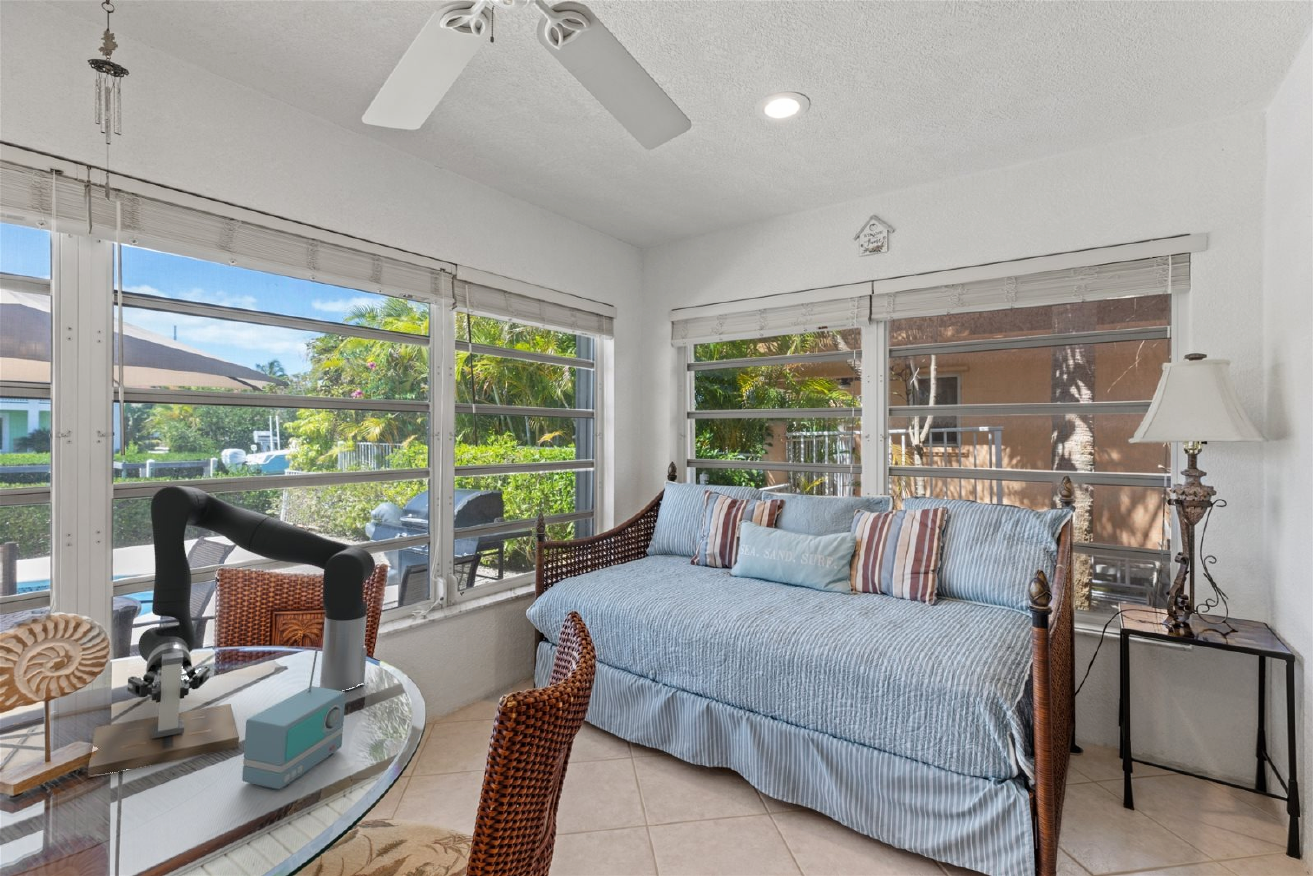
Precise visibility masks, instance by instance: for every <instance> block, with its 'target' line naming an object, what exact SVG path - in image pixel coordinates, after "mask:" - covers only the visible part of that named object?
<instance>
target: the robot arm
mask: <svg viewBox="0 0 1313 876" xmlns="http://www.w3.org/2000/svg"><path fill="white" fill-rule="evenodd" d="M150 517H151V525H152V534H153V535H152V537H153V548H154V551H153V552H154V565H155V566H154V568H155V569H154V571H155V572H154V584H153V596H152V605H151V606H152V607H151V610H152V614H153V615H154V616H158V617H159V616H160V617H167V618H173V619H175V620H177V622H178V624H177V625H176V624H175V625H166V626H165V625H164V626H155V627H151V628H148V629H146V630H145V631H143V633H142V634H141V635H140V638H139V640H138V652H139V654H140V656H141V658H142V659H143V661H145V662H146V668H145V674H144V675H143V677H141V676H140V677H137V676H129V677H128V678H127V692H129V693H131V694H133V695H135V696H137V697H138V698H146V697H148V695H150V696H151V698H150V699H151V701H152V702H154V701H155V703H160V702H161V674H162V654H169V653H177V652H183V663H182V673H181V686H180V699H185V697H186V696H188V695H189V692H190V689H191V690H198V689H200V687H202V685H204V684H205V683H206V682H207V681H208V680H209V679H210V669H211V666H208V665H205V666H203V667H201V668H199V669H196V667H193V665H192V658H191V654H190V653H191V652H192V651H193V650H194V648H195V647H196V643H197V636H196V635H197V634H196V630H195V627H194V624H193V620H192V616H191V615H192V614H191V597H192V596H191V595H192V572H191V567H190V564H189V560H188V557H187V553H186V547H185V534H186V528H187V526H192V527H197V528H200V529H204V530H208V531H211V532H214V533H216V534H219V535H222V536H223V537H225V538H226V539H228V540H229V541H230V542H232V543H233V544H234V545H236V546H238V547H239V548H241V549H243V550H244V551H247V552H250V553H252V554H253V555H254V554H255V555H257V556H261V557H262V558H266V559H269V560H273V561H278V562H285V563H291V564H292V563H294V564H302V565H309V566H314V567H316V568H319V569H322V570H323V578H322V579H323V580H322V605H323V608H324V625H323V626H324V627H323V638H322V639H323V640H322V653H321V665H320V679H319V687H320V688H326V689H332V690H337V691H342V690H346V689H349V688H352V687H356V686H357V685H358V684H361V683H364V684H365V679H366V677H365V676H366V667H367V666H366V665H367V652H368V647H367V646H366V645H365V642H366V630H367V629H366V628H367V627H366V626H367V617H368V615H367V614H368V603H367V601H365V600H364V597H363V596H364V583H365V581H368V579H369V578H370V577H371V576H372V575H373V574H374V572H375V569H376V562H375V559H374V557H373V555H372V554H371V553H370V552H369V551H367V550H366V549H364V548H362V547H360V546H359V547H358V546H355V545H351V544H347V543H344V542H343V543H342V542H339V541H335V540H331V539H327V538H325V537H323V536H320V535H317V534H315V533H314V532H310V531H308V530H306V529H303V528H301V527H298V526H296V525H293V524H290V523H289V522H286V521H284V520H281V519H278V518H275V517H272V516H270V515H267V514H264V513H260V512H257V511H254V510H250V509H246V508H243V507H240V506H239V507H238V506H235V505H233V504H230V503H228V502H227V501H223V500H222V499H220V498H218V497H215V496H214V495H212V494H209V493H207V492H206V491H204V490H202V489H199V488H197V487H192V486H184V485H168V486H165V487H163V488H161V489H159V490H158V491H157V492H156V493H154V495H153V497H152V500H151V502H150Z"/></svg>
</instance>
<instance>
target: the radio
mask: <svg viewBox="0 0 1313 876" xmlns="http://www.w3.org/2000/svg"><path fill="white" fill-rule="evenodd" d="M318 651H319V649H318V648H317V649H315V650H314V657H313V664H312V669H311V675H310V680H309V687H307V688H305V689H303V690H301V691H299V692H297V693H295V694H293V695H292V696H289V697H288V698H285V699H283V700H282V701H279V702H277V703H276V704H274V705H272V706H270V707H268V708H266V709H264V710H263V711H260V712H257V714H255V715H253V716H250V717H249V718H247V719H246V721H245V735H244V748H243V761H242V762H243V765H242V777H241V779H242V780H241V781H242V782H244V783H248V784H254V785H257V786H258V785H259V786H263V787H266V788H271V789H276V790H281V789H284V788H286V787H288V786H289V784H290V783H292V782H293V781H294V780H296V779H297V778H299V777H300V776H302V775H303V774H305V773H306V772H307V771H309V770H310V769H312V768H314V766H316V765H318V764H319V763H321V762H322V761H324V760H325V759H326V758H328V757H332V755H334V753H335V752H336V751H338V750H340V749H341V748H342V746H343V732H344V721H345V707H346V691H344V692H343V691H337V690H332V689H326V688H320V686H314V685H313V679H314V676H315V675H314V674H315V668H316V662H317V657H318Z"/></svg>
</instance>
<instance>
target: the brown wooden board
mask: <svg viewBox="0 0 1313 876" xmlns="http://www.w3.org/2000/svg"><path fill="white" fill-rule="evenodd" d="M158 718H159V715H158V716H154V717H147V718H141V719H136V720H130V721H123V722H118V723H112V724H106V725H100V726H95V727H94V728H95V729H94V733H93V737H92V738H93V739H92V745H91V747H92V746H94V747H97V748H98V749H99V750H98V751H99V752H98V753H97V754H96V755H95V756H93V757H91V758H90V757H89V761H88V767H87V768H88V769H87V777H88V776H89V775H94V774H105V773H110V772H111V773H112V772H113V774H115V773H114V772H118V771H121V770H126V769H132V770H136V768H137V769H141V768H140V767H142V768H145V766H146V767H150V765H151V766H155V765H161V764H165V763H168V762H175V761H179V760H182V759H183V760H184V759H188V758H193V757H197V756H202V755H208V754H213V753H217V752H222V751H225V750H226V751H227V750H230V749H236V748H239V744H240V743H239V742H240V736H239V730H238V727H237V723H236V720H235V715H234V711H233V708H232V704H231V703H227V704H222V705H216V706H210V707H204V708H199V709H198V708H197V709H193V710H186V711H182V712H180V711H179V717H178V720H182V719H184V733H179V734H174V735H168V736H163V737H158V738H153V739H151V725H154V724H158ZM174 760H175V761H174ZM118 773H119V772H118Z"/></svg>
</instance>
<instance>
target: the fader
mask: <svg viewBox="0 0 1313 876" xmlns="http://www.w3.org/2000/svg"><path fill="white" fill-rule="evenodd" d="M182 663H183V652H177V653H169V654H162V674H161V702H158V703H159V704H158V705H159V708H158V716H159V718H158V724H154V725H151V739H153V738H158V737H163V736H168V735H174V734H179V733H184V719H182V720H178V717H179V713H180V686H181V673H182Z"/></svg>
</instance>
